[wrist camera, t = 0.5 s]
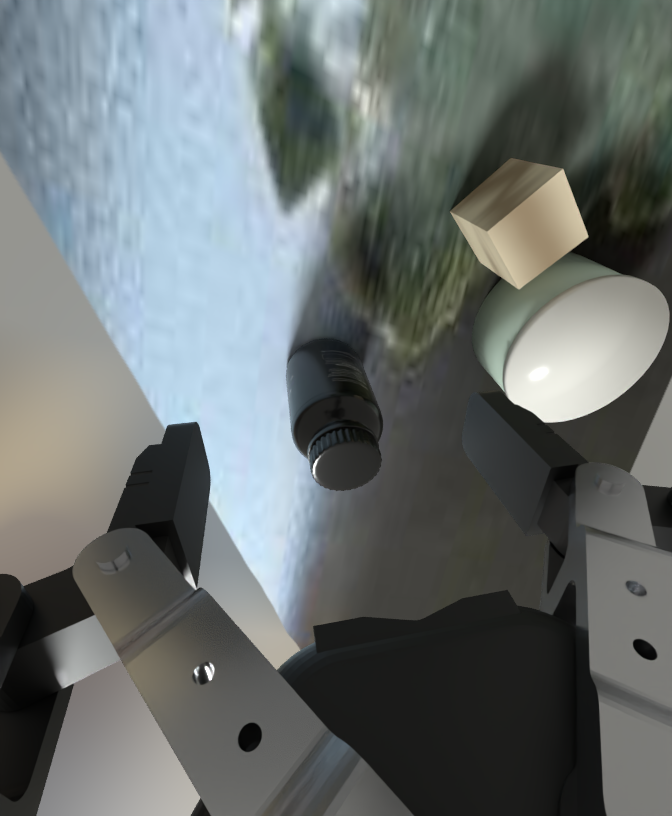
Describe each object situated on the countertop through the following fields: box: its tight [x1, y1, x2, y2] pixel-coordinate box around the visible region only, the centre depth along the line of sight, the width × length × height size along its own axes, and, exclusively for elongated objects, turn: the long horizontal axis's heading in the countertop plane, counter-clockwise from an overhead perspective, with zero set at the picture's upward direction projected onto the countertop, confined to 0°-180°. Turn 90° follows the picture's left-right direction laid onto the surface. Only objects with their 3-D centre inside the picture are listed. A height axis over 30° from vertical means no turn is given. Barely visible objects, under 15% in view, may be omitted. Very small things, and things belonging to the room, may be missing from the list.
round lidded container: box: [472, 252, 669, 422], centre depth 33 cm, size 12×12×7 cm
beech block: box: [450, 158, 589, 289], centre depth 27 cm, size 5×5×6 cm
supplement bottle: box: [286, 339, 383, 491], centre depth 31 cm, size 7×7×12 cm
